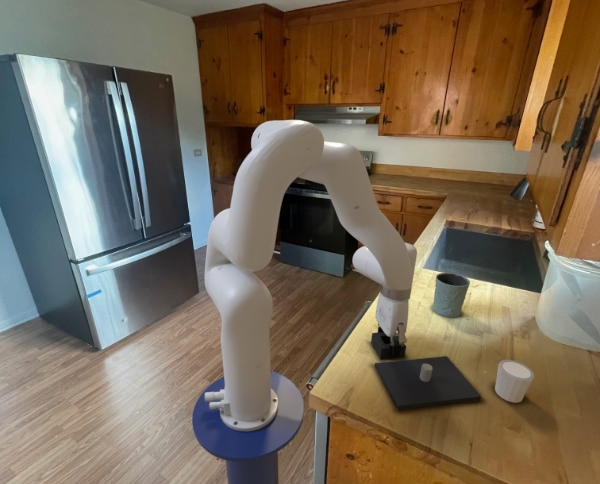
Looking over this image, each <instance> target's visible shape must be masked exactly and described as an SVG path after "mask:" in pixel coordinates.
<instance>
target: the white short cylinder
mask: <svg viewBox="0 0 600 484" xmlns="http://www.w3.org/2000/svg"><path fill="white" fill-rule="evenodd" d="M534 378H535V374H534V372H533V371H532V369H531V368H530V367H529V366H527V365H525V364H524V363H522V362H519V361H517V360H512V359H503V360H501V361H499V363H498V367H497V374H496V378H495V379H496V380H495V386H494V390H495V393H496V394H497V396H498V397H500V398H501V399H503V400H505V401H507V402H510V403H513V404H515V403H521V402H522V401H523V399H524V397H525V395H526V394H527V392H528V389H529V388H530V387H531V384H532V383H533V380H534Z"/></svg>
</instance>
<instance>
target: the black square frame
mask: <svg viewBox="0 0 600 484" xmlns="http://www.w3.org/2000/svg"><path fill="white" fill-rule="evenodd" d="M377 332H378V331H377ZM377 332H372V333H371V339H370V345H371V346H372V347H373V349H374V351H375V353H376V355H377V356H378V359H380V360H386V359H397V358H405V357H406V352H407V345H406V343H405V344H404V345H402V346H401V351H400V356H399V357H390V358H389V357H388V349H389V344H391V340H390V337H389V336H387V335H386V334H385V333H384V332H378V333H377ZM396 333H398V331H396ZM396 340H398V336H394V341H396Z"/></svg>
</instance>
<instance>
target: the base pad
mask: <svg viewBox="0 0 600 484" xmlns="http://www.w3.org/2000/svg"><path fill="white" fill-rule="evenodd" d="M374 368H375V371H376V373H377V374H378V376H379V378H380V380H381V382H382V384H383V386H384V387H385V390H386V391H387V393H388V395H389V397H390V399H391V401H392V402H393V404H394V406H395V408H396V410H397V411H400V410H409V409H416V408H418V409H419V408H424V407H425V408H426V407H435V406H444V405H451V404H459V403H468V402H476V401H481V399H482V395H481V394H480V393H479V392H478V390H477V389H476V388H475V386H474V385H473V384H471V382H470V381H469V380H468V378H466V377H465V376H464V374H463V373H462V372H461V371H460V370H459V368H458V367H457V366H456V365H455V363H453V362H452V360H451V359H450V358H449V357H448V355H446V356H445V355H443V356H436V357H434V356H433V357H423V358H412V359H402V360H401V359H400V360H393V361H381V362H375V363H374Z"/></svg>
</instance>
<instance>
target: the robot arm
mask: <svg viewBox="0 0 600 484" xmlns="http://www.w3.org/2000/svg"><path fill="white" fill-rule="evenodd" d="M250 145H251V146H250V147H251V151H250V152H249V153H248V154H247V155H246V157H245V158H244V159H243V161H242V163H241V165H240V166H239V168H238V171H237V173H236V174H235V175H236V176H235V179H234V182H233V183H234V184H233V188H232V195H231V201H230V207H229V208H226V209H223V210H222V211H220V212H219V213H217V215H216V216H214V219H213V220H212V222H211V224H210V226H209V229H208V234H207V241H206V253H205V263H204V288H205V290H206V293H207V294H208V296H209V298H210V299H211V301H212V302H213V304H214V306H215V307H216V309H217V310H218V312H219V315H220V319H221V331H220V348H221V349H220V350H221V356H222V367H223V377H224V380H225V389H222V390H220V392H206V393H205V402H210V405H209V408H210V409H216V408H220V416H221V419H222V421H223V422H224V423H225V424H226V425H227V426H228V427H230V428H232V429H234V430H237V431H246V432H247V431H254V430H257V429H260V428H262V427H264V426H266V425H267V424H269V423H270V422H271V421H272V420H273V418H274V417H275V416H276V413H277V411H278V397H277V395H276V393H275V392H274V391H273V390H272V389H271V375H270V371H271V346H270V345H271V343H270V342H271V341H270V340H271V339H270V338H271V337H270V333H271V321H272V317H273V311H274V310H273V309H274V301H273V297H272V294H271V292H270V290H269V288H268V287H267V286H266V285H265V283H264V282H263V281H262V280H261V279H260V278H259V277H258V275H256V274H255V273H254V272H260V271H262V270H263V269H265V268H266V267H267V266H268V265H269V264H270V262H271V261H272V258H273V256H274V252H275V246H276V240H277V233H278V225H279V219H280V215H281V213H280V212H281V208H282V204H283V203H282V202H283V200H284V196H285V194H286V192H287V191H288V188H289V187H290V185H291V184H292V183H293V182H294V181H295V180H296V179H297V178H300V179H302V180H307V181H310V182H313V183H317V184H319V185H323V186H324V187H325V189H326V191H327V194H328V196H329V198H330V201H331V203H332V207H333V209H334V211H335V213H336V216H337V218H338V221H339V223H340V224H341V226H342V227H343V228H344V229H345V231H347V233H349V234H350V235H351V236H352V237H353V238H355V240H357V241H358V242H360V244H361V245H363V246H361V247H359V248H358V249H356V250H355V252H354V253H353V256H352V265H353V267H354V269H355V270H356V271H357V272H358V273H359V274H361V275H362V276H364V277H365V278H368V279H370V280H371V281H373V282H375V283H377V284H379V285H380V290H379V294H378V298H377V303H376V308H375V315H374V316H375V317H374V318H375V320H376V322H377V326H378V327H377V331H376V333H378V332H384V333H385V334H386V335H387V336H389V337H390V340H391V344H389V349H388V357H389V358H388V359H391V358H390V357H399V356H400V351H401V346H402V345H404V344H405V345H406V343H407V336H406V332H407V329H408V323H409V321H408V319H409V307H410V306H409V305H410V304H409V302H410V301H409V300H411V294H412V289H413V282H414V276H415V269H416V263H417V257H418V250H417V248H416V247H415V246H414V244H411V243H408V242H405V241H404V239H403V237H402V236H401V235H400V233H399V231H398V230H397V229H396V228H395V227H394V225H393V224H392V222H391V221H390V220H389V219H388V218H387V216H386V215H385V214H384V213H383V212H382V211H381V210H380V207H379V205H378V202H377V199H376V196H375V192H374V189H373V186H372V183H371V180H370V177H369V173H368V170H367V167H366V164H365V161H364V158H363V155H362V154H361V152H360V151H359V149H358V148H357V147H356V146H354V145H352V144H349V143H344V142H338V141H337V142H335V141H326V140H325V138H324V134H323V132H322V131H321V129H320V128H319V127H318V126H317V125H315V124H314V123H312V122H310V121H306V120H302V119H301V120H300V119H285V120H268V121H265V122H263V123H261V124H259V125H258V126H257V127H256V128H255V130H254V132H253V133H252V136H251V141H250ZM396 332H397V333H396ZM394 336H398V340H396V341H394ZM399 358H400V357H399ZM216 400H220V402H212V401H216Z"/></svg>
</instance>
